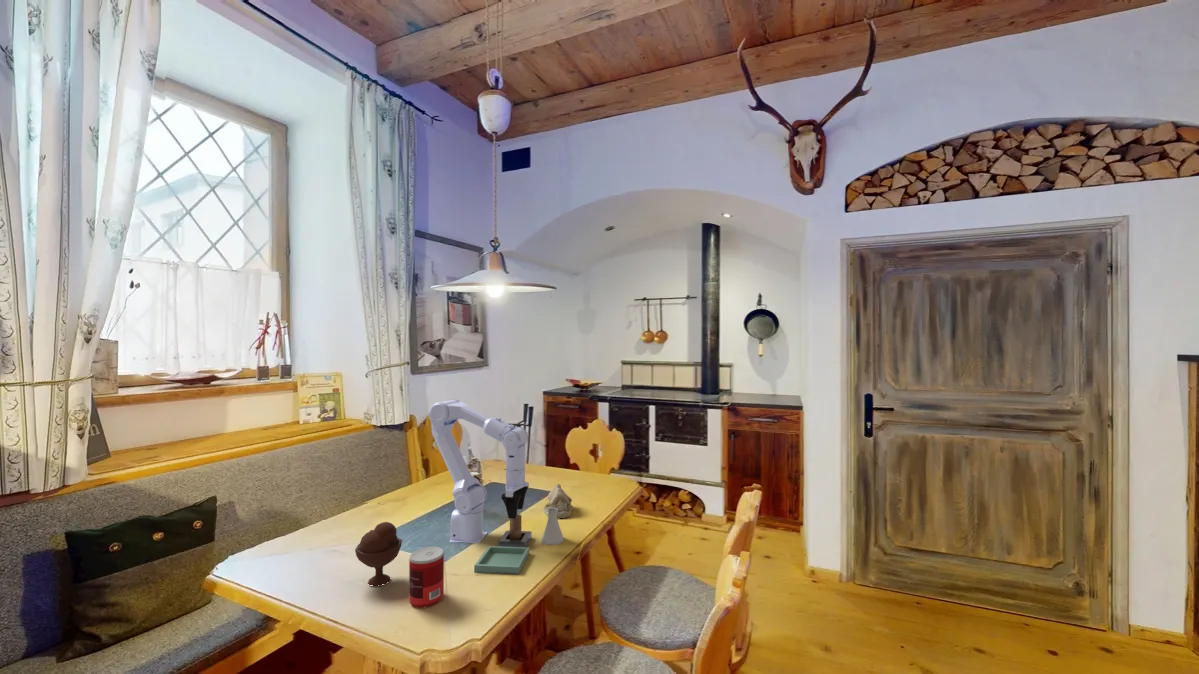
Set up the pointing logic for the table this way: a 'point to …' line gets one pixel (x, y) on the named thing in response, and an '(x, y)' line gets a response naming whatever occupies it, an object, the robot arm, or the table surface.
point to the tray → (502, 560)
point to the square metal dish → (507, 542)
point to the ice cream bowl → (379, 550)
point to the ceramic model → (559, 502)
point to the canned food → (426, 576)
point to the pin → (515, 528)
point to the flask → (552, 529)
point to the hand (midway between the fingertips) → (515, 513)
